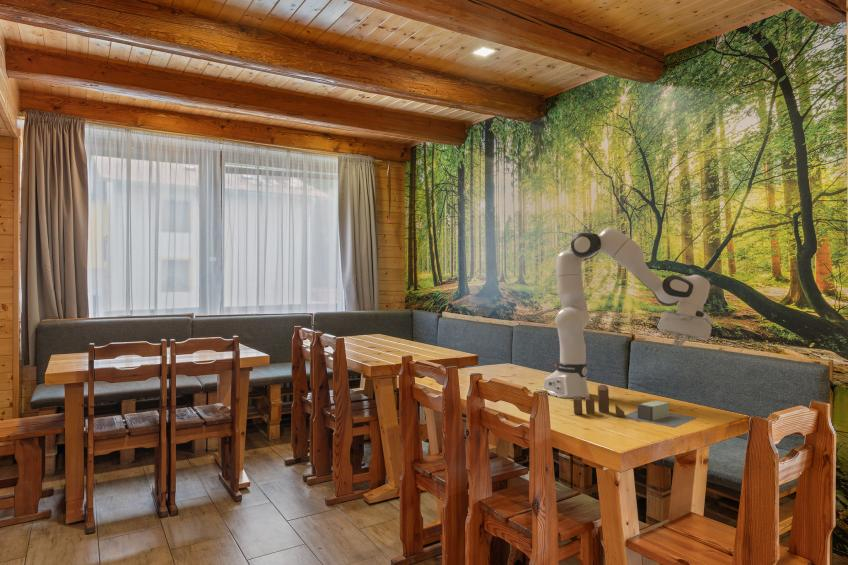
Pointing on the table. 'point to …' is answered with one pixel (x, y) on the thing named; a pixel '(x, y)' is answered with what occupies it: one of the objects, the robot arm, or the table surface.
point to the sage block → (653, 410)
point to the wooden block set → (602, 403)
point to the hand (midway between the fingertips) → (677, 345)
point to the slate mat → (663, 419)
